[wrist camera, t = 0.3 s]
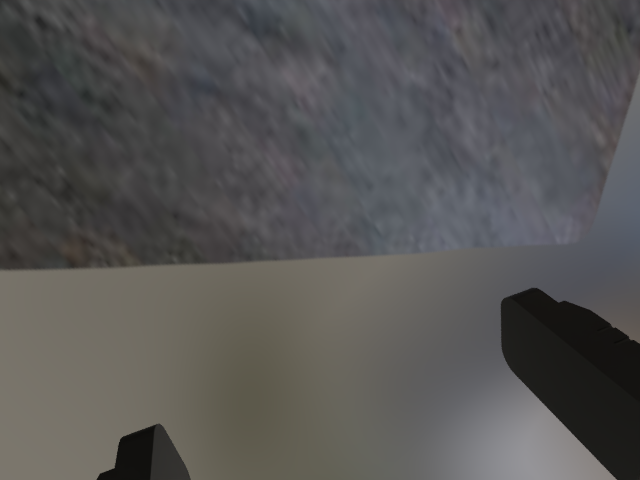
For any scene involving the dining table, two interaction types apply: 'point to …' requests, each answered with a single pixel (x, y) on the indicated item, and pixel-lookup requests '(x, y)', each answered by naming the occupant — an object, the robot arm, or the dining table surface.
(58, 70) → the dining table surface
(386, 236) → the dining table surface
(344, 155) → the dining table surface
